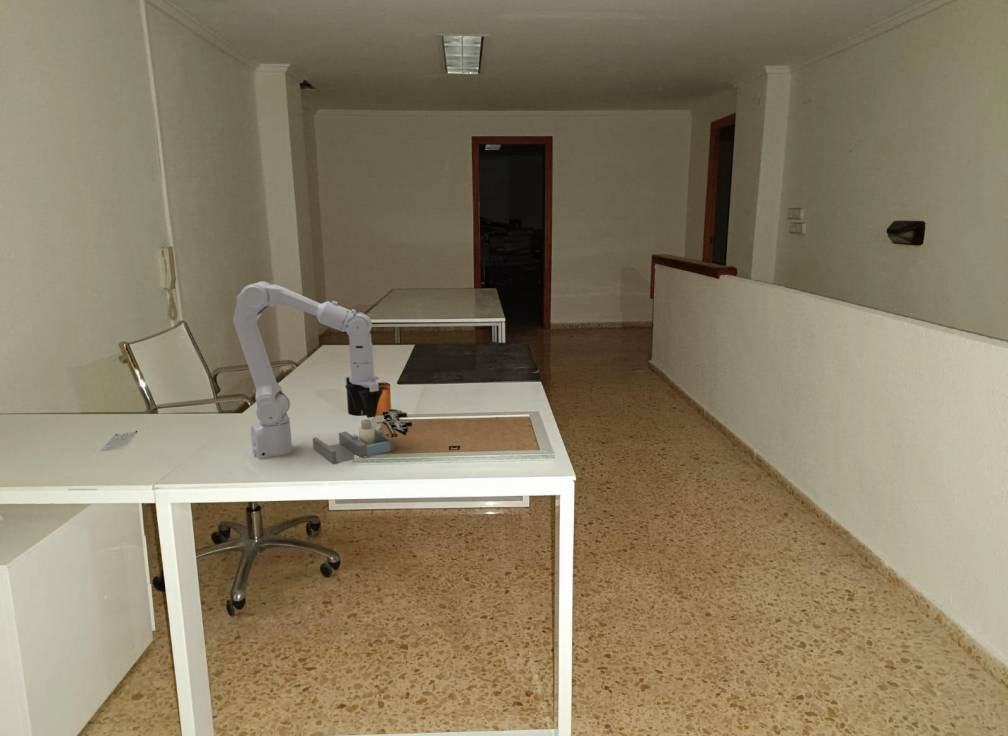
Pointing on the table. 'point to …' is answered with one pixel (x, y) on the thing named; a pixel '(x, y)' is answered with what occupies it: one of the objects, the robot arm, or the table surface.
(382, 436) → the grey walled tray piece
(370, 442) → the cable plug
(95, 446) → the table surface
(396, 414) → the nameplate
